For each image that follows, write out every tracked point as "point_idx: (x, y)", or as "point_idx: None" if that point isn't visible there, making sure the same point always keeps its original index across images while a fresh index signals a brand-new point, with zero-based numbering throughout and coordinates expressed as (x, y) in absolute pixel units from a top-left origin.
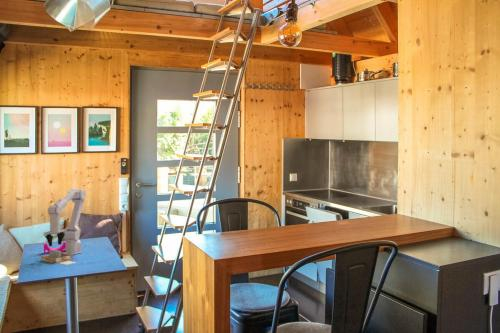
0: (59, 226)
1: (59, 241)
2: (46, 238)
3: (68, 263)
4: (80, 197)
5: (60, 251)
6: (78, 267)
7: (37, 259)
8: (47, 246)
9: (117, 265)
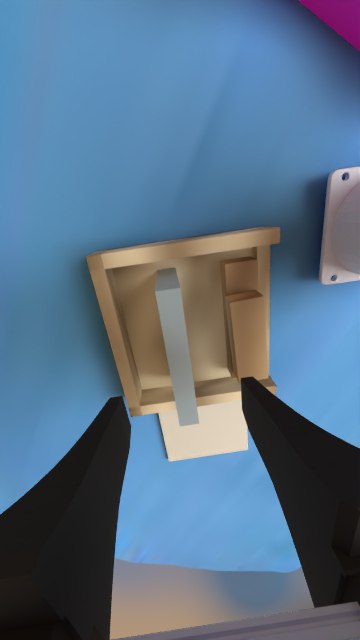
0: None
1: (257, 428)
2: (22, 505)
3: (189, 447)
4: None
5: (195, 423)
6: (188, 511)
7: (85, 161)
8: None
9: None
